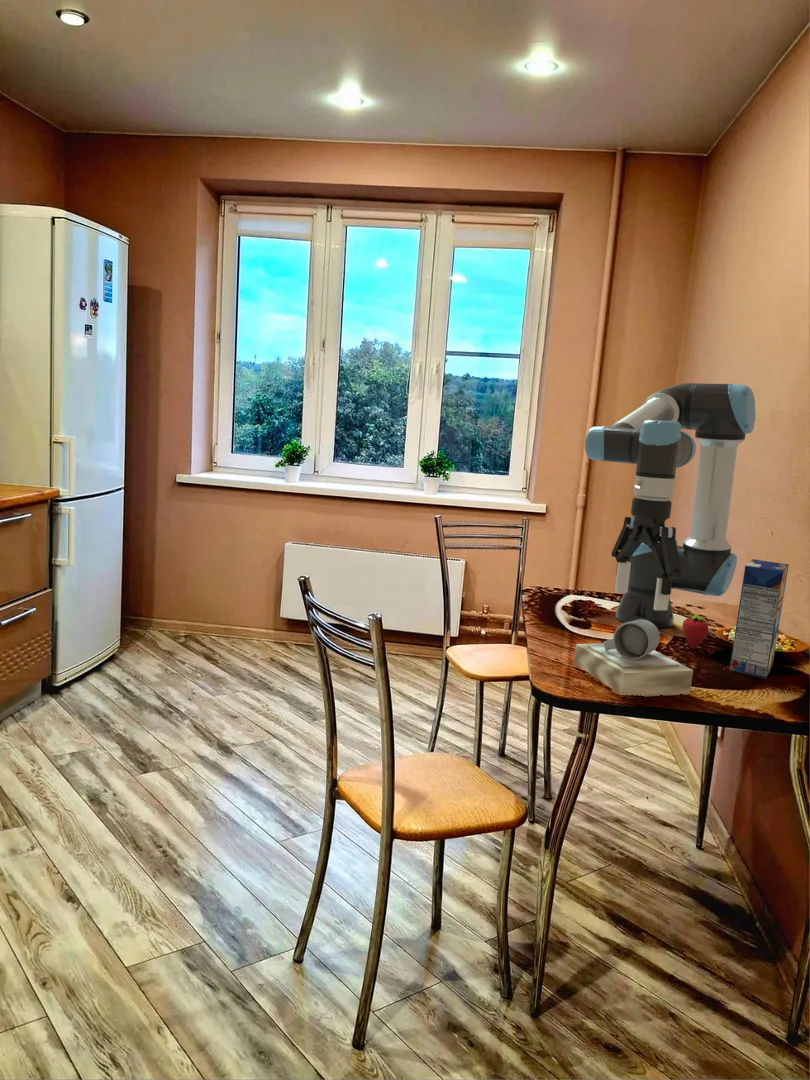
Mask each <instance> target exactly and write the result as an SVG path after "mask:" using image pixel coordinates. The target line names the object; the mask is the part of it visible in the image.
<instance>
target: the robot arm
mask: <svg viewBox="0 0 810 1080" xmlns="http://www.w3.org/2000/svg"><path fill="white" fill-rule="evenodd" d="M755 422H756V400H755V396H754V392H753V390H752V389H751V387H750V386H749V385H746V384H745V385H744V384H737V383H702V382H701V383H696V382H684V383H679V384H674V385H671V386H668V387H666V388H662V389H660V390H658V391H656V392H654V393H652V394H651V395H649V396H648V397H646V398H645V399H644V401H643V402H642V404H641V406H639V407H638V408H636V409H635V410H634V411H632V412H630V413H629V414H627V415H626V416H623V418H621V419H619V420H618V421H616V422H615V423H614V424H612V425H611V426H605V425H602V426H599V425H598V426H592V427H590V428H589V429H588V431H587V434H586V437H585V440H584V441H585V442H584V449H585V450H584V451H585V455H586V456H587V458H588V459H590V460H593V461H599V462H602V463H603V462H605V463H606V462H607V463H619V464H620V463H621V464H633V465H636V470H635V478H634V487H633V495H635V497H634V498H632V500H631V509H630V515H631V516H625V517H624V519H623V526H622V528H621V530H620V533H619V535H618V537H617V540H616V542H615V544H614V546H613V548H612V551H611V557H613V558H615V561H616V569H615V570H616V571H615V575H616V576H615V577H616V578H615V585H614V593H616V594H618V593H620V594H621V593H622V594H623V595H622V598H621V600H620V602H619V605H618V606H617V608H616V613H615V618H616V619H617V620H619V621H621V622H623V623H626V622H630V621H634V620H638V619H642V620H647V621H649V622H651V623H653V624H654V625H655V626H656V627H657V629H665V628H671V627H673V626H674V613H673V606H672V603H671V602H672V601H671V595H672V589H674V590H678V591H684V592H690V593H693V594H694V593H695V594H701V595H703V596H712V597H721V596H723V595H724V594H726V593H727V592H728V589H729V588H730V585H731V583H732V580H733V577H734V574H735V572H736V569H737V568H736V567H737V564H738V556H737V555H736V554H735V553H733V552H732V545H731V544H730V542H729V541H728V540H727V533H728V524H729V517H730V516H729V515H730V508H731V500H732V494H733V492H732V491H733V483H734V475H735V466H736V459H737V450H738V447H739V446H740V444H742V443H743V442H745V440H746V435H748V434H751V433H752V432H753V431H754V428H755ZM682 430H691V431H692V430H693V431H695V435H694V439H695V440H696V441H697V442H698V443H699V445H700V447H699V453H698V461H697V462H698V464H697V473H696V482H695V491H694V497H693V498H694V500H693V507H692V508H693V510H692V519H691V525H690V535H689V536H688V537H687V538H686V539H684V540H683V544H682V545H678V540H677V539H676V537H677V536H676V535H677V534H676V533H677V528H676V527H675V526H666V521H667V520H669V519H670V518H671V512H672V506H673V505H672V504H673V502H672V501H671V500H670V499H672V498H673V497H674V489H675V483H676V473H677V472H676V470H677V469H678V468H680V467H681V468H682V467H683V466H686V465H688V464H689V463H690V462H691V461H692V460H693V459H694V457H695V454H696V451H697V449H696V448H697V447H696V446H697V445H696V443H695V440H694V439H693V437H692V436H691V435H690V434H688V433H686V432H684V431H682Z"/></svg>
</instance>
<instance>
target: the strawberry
mask: <svg viewBox="0 0 810 1080" xmlns="http://www.w3.org/2000/svg"><path fill="white" fill-rule="evenodd" d="M694 611H695V613H696V614H694V615H691V614H683V616H684V617H687V618H685V619H684V620H683V623H682V625H681V627H682V634H683V635H684V637H685V640H686V642H687V643H688V645H689V647H690V649H693V650H695V649H696V648H697V647H698V646H699V645H700V644H701V643H702V642H703V641H704V639H706V636H707V634H708V632H709V624H708V623H707V621H706V619H707V617H706V616H699V614H698V612H697V610H696V609H694Z"/></svg>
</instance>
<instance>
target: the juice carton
mask: <svg viewBox="0 0 810 1080" xmlns="http://www.w3.org/2000/svg"><path fill="white" fill-rule="evenodd" d="M789 566H790V565H789V564H787V563H780V562H775V561H774V562H773V561H767V560H761V559H754V558H753V559H752V560H750V561H749V562H748V563H746V565H744V571H743V578H742V584H741V590H740V591H741V592H740V598H739V599H740V600H739V605H738V612H737V619H736V625H735V631H734V636H733V638H734V639H733V644H732V650H731V651H732V652H731V659H730V664H729V671H731V670H732V671H731V672H735V671H736V673H740V672H741V674H743V675H744V674H745V675H749V676H753V677H759V678H761V679H762V678H763V679H767V677H768V676H769V673H770V671H771V670H770V669H772V668H771V667H773V666H774V665H773V664H774V660H775V658H774V657H775V652H776V647H777V641H778V633H779V627H780V620H781V616H782V615H781V614H782V610H783V602H784V597H785V590H786V584H787V579H788V573H789Z"/></svg>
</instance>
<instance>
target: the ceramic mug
mask: <svg viewBox="0 0 810 1080" xmlns="http://www.w3.org/2000/svg"><path fill="white" fill-rule="evenodd" d="M660 640H661V635H660V631H659V628H657V627H656V626H655V625H654V624H653V623H651V622H649V621H647V620H642V619H638V620H634V621H630V622H626V623H625V622H623V623H621V625H619V626H618V627H617V628H616V629H615V630H614V633H613V636H612V638H611V639H607V640H605V641H603V644H604V647H605V649H611V648H615V649H616V650H617V652H618V653H619V654H620V655H621V656H623V657H624V658H626V659H630V660H637V659H640V658H642V657H644V656H646V655H647V654H649V653H650V652H652V651H653V650H655V651H656V649H657V647H658V645H659V644H660Z"/></svg>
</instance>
